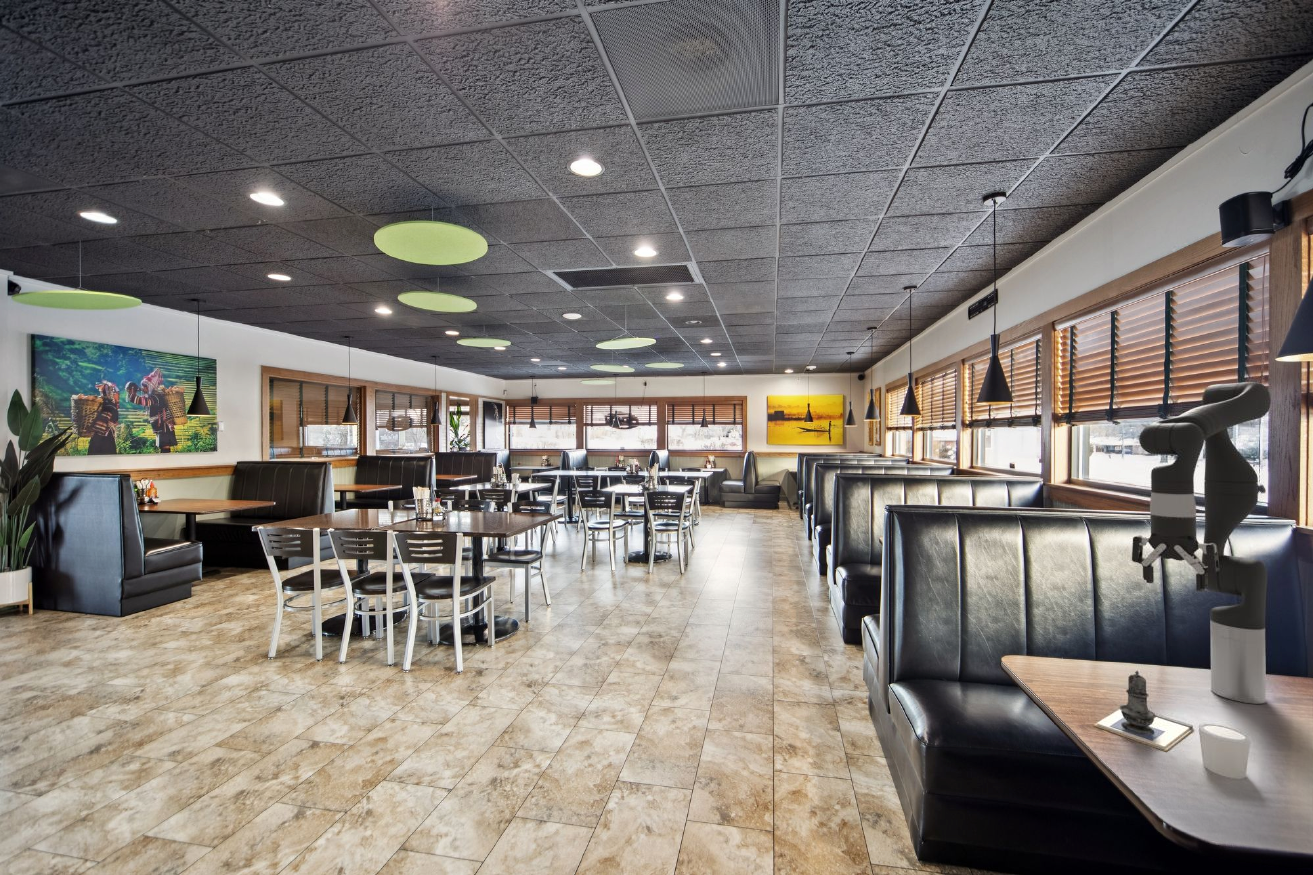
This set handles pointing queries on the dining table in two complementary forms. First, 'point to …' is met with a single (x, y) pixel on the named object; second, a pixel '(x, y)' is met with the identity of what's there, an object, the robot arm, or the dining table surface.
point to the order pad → (1164, 728)
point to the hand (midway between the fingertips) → (1174, 586)
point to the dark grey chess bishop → (1137, 707)
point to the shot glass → (1224, 750)
